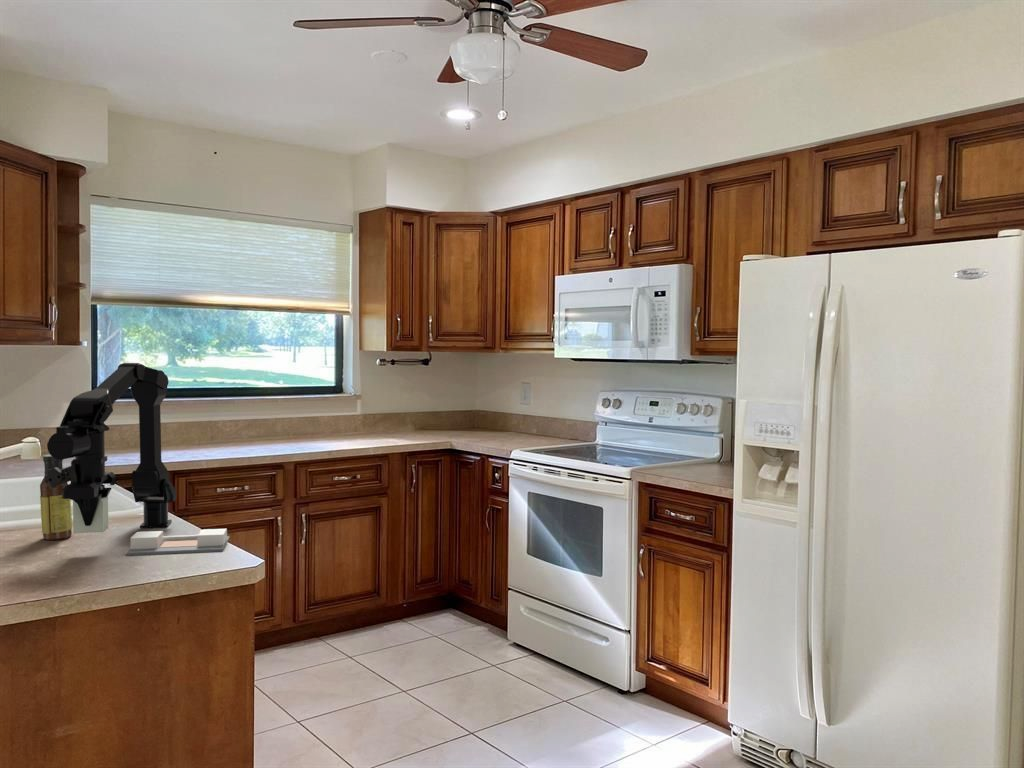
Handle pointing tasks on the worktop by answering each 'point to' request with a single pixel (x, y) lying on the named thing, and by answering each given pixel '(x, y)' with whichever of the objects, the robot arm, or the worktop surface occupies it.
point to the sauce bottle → (54, 506)
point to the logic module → (98, 522)
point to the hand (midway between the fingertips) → (91, 523)
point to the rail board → (178, 542)
